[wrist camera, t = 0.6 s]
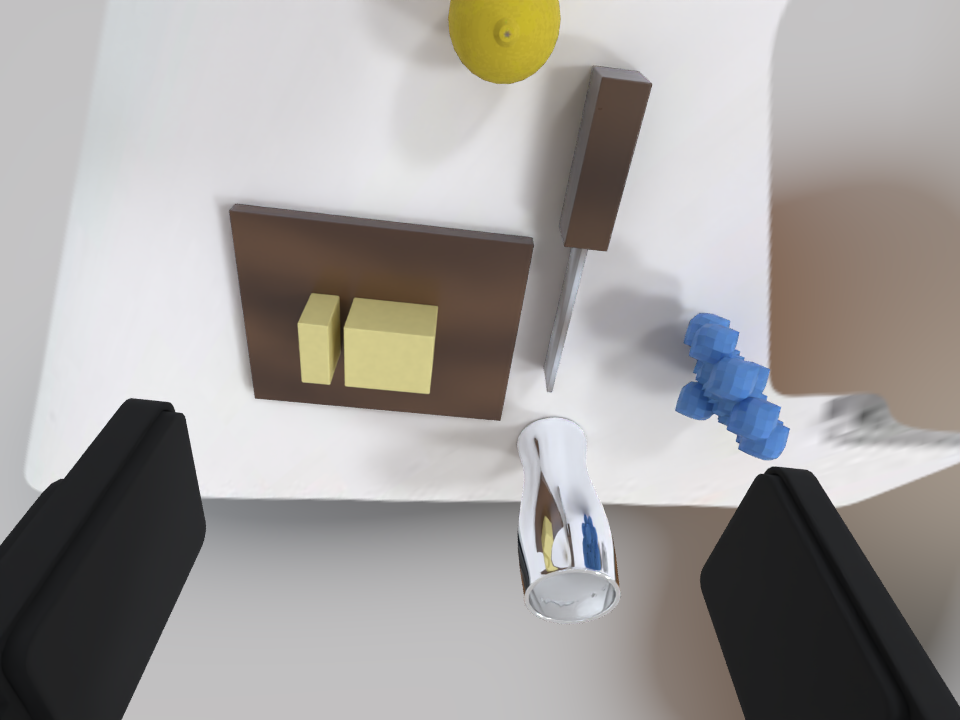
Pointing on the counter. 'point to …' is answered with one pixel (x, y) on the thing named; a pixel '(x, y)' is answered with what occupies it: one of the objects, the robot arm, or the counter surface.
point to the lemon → (504, 36)
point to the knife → (596, 182)
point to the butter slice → (319, 338)
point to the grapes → (730, 389)
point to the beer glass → (563, 528)
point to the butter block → (389, 345)
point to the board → (389, 277)
